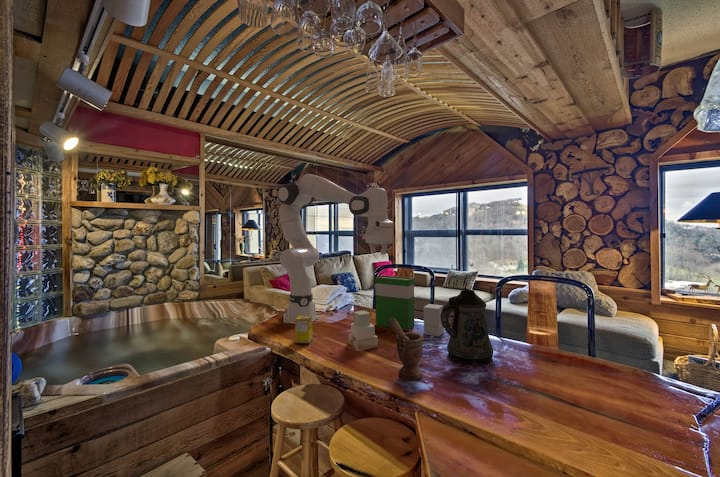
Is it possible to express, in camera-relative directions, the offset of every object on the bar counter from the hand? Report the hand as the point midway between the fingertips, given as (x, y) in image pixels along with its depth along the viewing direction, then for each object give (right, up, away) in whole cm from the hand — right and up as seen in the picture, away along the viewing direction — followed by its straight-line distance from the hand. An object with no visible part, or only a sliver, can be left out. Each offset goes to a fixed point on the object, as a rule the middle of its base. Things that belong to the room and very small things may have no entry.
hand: (378, 253), depth 143 cm
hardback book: (+9, -37, +15) cm, 41 cm away
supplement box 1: (-32, -38, -7) cm, 50 cm away
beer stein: (+32, -38, -25) cm, 56 cm away
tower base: (-7, -38, -11) cm, 40 cm away
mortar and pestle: (+7, -39, -40) cm, 56 cm away
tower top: (-7, -33, -11) cm, 36 cm away
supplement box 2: (+26, -37, +3) cm, 45 cm away
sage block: (-7, -29, -11) cm, 32 cm away
